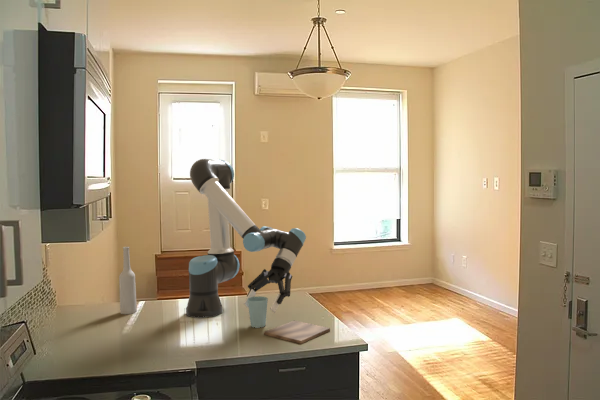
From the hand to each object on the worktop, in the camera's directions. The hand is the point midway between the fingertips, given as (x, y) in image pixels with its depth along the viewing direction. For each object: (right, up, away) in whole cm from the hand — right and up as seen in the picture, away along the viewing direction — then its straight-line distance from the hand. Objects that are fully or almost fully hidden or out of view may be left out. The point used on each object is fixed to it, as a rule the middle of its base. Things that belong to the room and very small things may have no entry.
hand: (258, 308), depth 187 cm
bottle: (-58, -7, +24) cm, 63 cm away
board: (+15, -7, -8) cm, 18 cm away
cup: (0, -7, +1) cm, 7 cm away
